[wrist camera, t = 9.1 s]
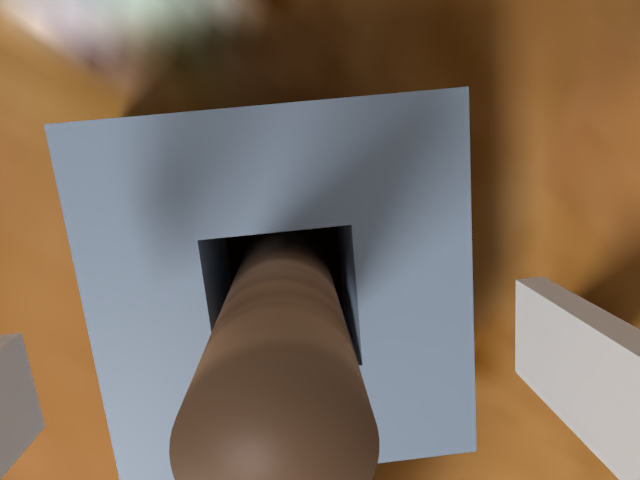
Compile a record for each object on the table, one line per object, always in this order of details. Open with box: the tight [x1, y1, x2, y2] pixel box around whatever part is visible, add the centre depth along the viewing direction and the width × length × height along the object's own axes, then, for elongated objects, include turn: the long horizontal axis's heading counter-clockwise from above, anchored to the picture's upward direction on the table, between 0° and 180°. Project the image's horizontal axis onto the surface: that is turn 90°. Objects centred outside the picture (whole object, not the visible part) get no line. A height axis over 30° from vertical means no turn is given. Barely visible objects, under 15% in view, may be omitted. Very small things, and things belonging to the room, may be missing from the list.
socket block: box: [44, 86, 476, 480], centre depth 19 cm, size 14×14×6 cm
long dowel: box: [169, 229, 379, 480], centre depth 16 cm, size 4×4×14 cm
